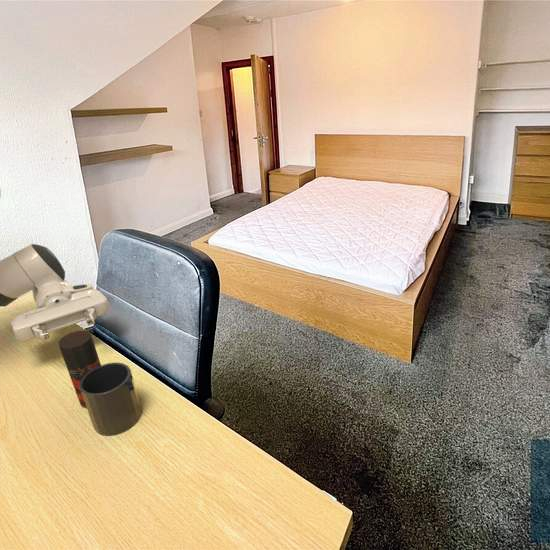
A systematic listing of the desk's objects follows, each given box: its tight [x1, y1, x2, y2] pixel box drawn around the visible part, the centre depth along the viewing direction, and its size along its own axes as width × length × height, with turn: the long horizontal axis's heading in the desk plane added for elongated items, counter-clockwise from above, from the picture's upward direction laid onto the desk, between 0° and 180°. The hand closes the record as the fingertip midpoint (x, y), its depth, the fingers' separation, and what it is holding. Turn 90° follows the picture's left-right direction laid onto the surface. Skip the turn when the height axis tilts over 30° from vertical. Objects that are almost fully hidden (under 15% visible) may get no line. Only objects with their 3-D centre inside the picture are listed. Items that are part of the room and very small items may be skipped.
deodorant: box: [57, 330, 102, 409], centre depth 83 cm, size 6×6×15 cm
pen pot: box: [79, 362, 142, 437], centre depth 78 cm, size 9×9×10 cm
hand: (68, 329), depth 90 cm, fingers open, 8 cm apart
